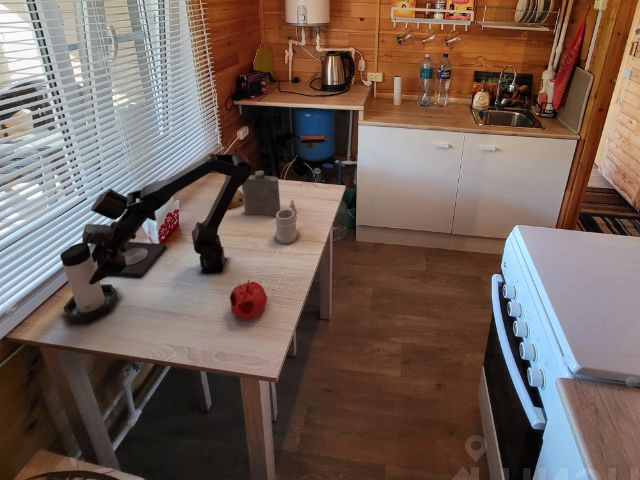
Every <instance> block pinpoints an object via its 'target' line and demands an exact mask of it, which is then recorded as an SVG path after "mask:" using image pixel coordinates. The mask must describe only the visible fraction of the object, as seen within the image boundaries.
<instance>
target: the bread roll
mask: <svg viewBox="0 0 640 480" xmlns="http://www.w3.org/2000/svg"><path fill="white" fill-rule="evenodd" d="M243 202H244V200H243V192H242V191H241V190H240V189H239V188H238V189H237V191H236V193H235V195H234V197H233V199H232V201H231V203H230V205H229V207H228V209H233V208H237V207H238V206H241V205H242V204H243Z"/></svg>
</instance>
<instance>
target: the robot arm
mask: <svg viewBox="0 0 640 480" xmlns="http://www.w3.org/2000/svg"><path fill="white" fill-rule="evenodd" d="M212 172H214V173H218V174H222V175H225V178H224V182H223V183H222V186H221V188H220V190H219V192H218V194H217V196H216V198H215V199H214V202H213V204H212V206H211V208H210V210H209V212H208V213H207V216H206V218H205V220H204V221H201V222H200V221H197V222H196V223H195V226H194V228H193V229H192V231H191V238H192V244H193V251H194V252H195V253H196V254H198V255H200V256H199V257H198V258H199V264H200V268H201V270H200V273H201V274H222V273H223V271H224V269H225V266H226V263H227V261H228V258H227V257H226V256H225V255H226V254H225V249H224V246H222V241H221V238H220V234H219V233H218V232H219V227H220V225H221V224H222V221H223V220H224V217H225V215H226V213H227V212H228V209H229V208H228V207H229V205H230V203H231V201H232V199H233V197H234V195H235V193H236V191H237V189H238V190H239V188H240V187H242V185H243V184H244V183H245V182H246V181H247V179H248V178H249V176H251V175H252V174H253V166H252V163H250V161H249V159H248V157H247V156H246V155H245V154H242V153H238V154H229V153H221V154H216V153H208V154H206V155H205V156H204V157H203V158H200V159H199V160H197V161H196V162H193V163H192V164H191V165H188V166H187V167H186V168H184V169H182V170H180V171H178V172H177V173H175V174H174V175H171V176H170V177H168V178H165V179H161V180H156V181H154V182H151V183H149V184H146V185H144V186H143V187H142V188H141V189H138V190H134V191H130V192H127V195H126V196H125V195H123V194H121V193H120V192H119V193H118V191H116V190H114V189H112V188H108V189H107V190H106V191H104V192H102V194H101V193H100V195H98V197H97V198H96V200H95V201H94V203H93V204H92V206H91V208H90V212H93V213H95V214H98V215H100V216H102V217H104V218H106V219H107V218H108V219H109V220H112V221H111V223H109V225H108V224H105V223H104V224H100V223H99V224H98V223H97V224H96V223H87V224H85V225H84V229H83V230H82V231H83V232H82V235H81V238H82V239H81V240H82V242H81V243H85V244H88V245H94V247H93V249H92V251H91V255H92V258H93V261H94V263H97V264H96V266H97V267H96V271H95V272H94V274H93V276H92V277H91V279H90V281H89V284H91V285H93V284H95V283H97V282H98V281H100V282H101V281H102V280H104V279H106V278H108V277H110V276H113V275H112V274H114V273H122V272H123V271H124V270H125V268H126V267H127V265H126V260H125V256H124V255H120V254H119V253H118V252H119V251H122V252H125V250H126V245H127V244H128V242H131V240H135V239H136V238H137V234H136V233H138V231H139V230H140V228H141V227H142V226H143V225H144V224H145V223H146V221H147V220H150V221H153V222H156V221H157V215H156V212H157V211H159V210H160V209H161V208H162V207H164V206H166V204H167V203H168V202H169V201H170V200H171V198H173V197H174V195H176V194H177V193H178V192H180V191H182V190H183V189H185V188H187V187H189V186H190V185H191V184H193V183H195V182H197V181H198V180H200V179H202V178H203V177H206V176H207V175H208V174H210V173H212ZM137 200H138V202H137ZM117 219H118V220H117ZM113 220H114V221H113ZM116 220H117V221H116Z"/></svg>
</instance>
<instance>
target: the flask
mask: <svg viewBox="0 0 640 480" xmlns="http://www.w3.org/2000/svg"><path fill="white" fill-rule="evenodd" d="M279 185H280V184H279V178H278V177H276V176H272V175H265V172H264V170H257V171H255V172H254V175H252V174H251V175H250V176H249V178H248V179H247V181H246V182H245V183H244V184H243V185H241V190H242V191H241V192H242V194H243V208H244V214H245V215H246V216H247V215H248V216H249V215H251V216H252V215H262V216H263V215H264V216H272V217H276V214H277V212H278V211H280V210H281V198H280V186H279Z"/></svg>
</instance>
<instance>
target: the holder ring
mask: <svg viewBox="0 0 640 480" xmlns="http://www.w3.org/2000/svg"><path fill="white" fill-rule="evenodd" d="M100 285H101V288H102V291H103V294H111V296H110V298H109V299H108V300H107V301H106V302H105V304H104V306H102V307H101V308H99V309H97V310H95V311H93V312H91V313H89V314H72V313H71V312H72V311H73V310H74V308H75V307H77V305H76V302H75V299H74V296H73V295H72V297H71V298H70V299H69V300H68V301H67V302H66V303H65V305H64V306H63V310H64V313H65V316H66V319H67V320H68V323H69V324H70V325H85V324H86V325H87V324H91V323H93V322H95V321H97V320H99V319H100V318H102V317H105V316H106V315H108V314H109V313H110V312H111V311H112V310H113V308H114V307H115V305H116V304H117V303H118V302H119V299H120V298H119V296H118V292H117V290H116V289H115V288H114V286H113V284H110V283H107V284H105V283H104V284H103V283H102V284H101V283H100Z"/></svg>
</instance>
